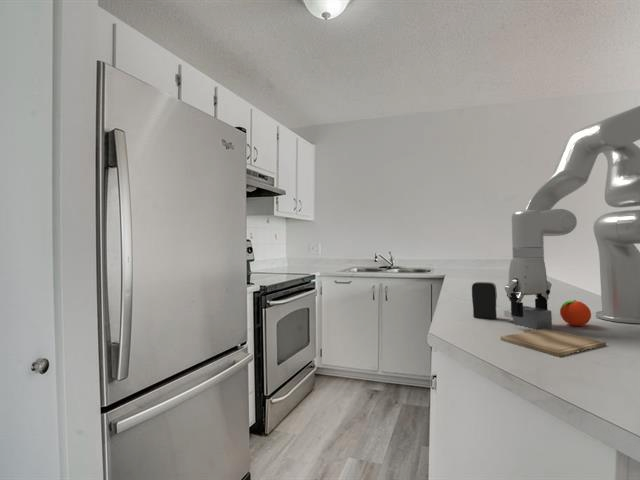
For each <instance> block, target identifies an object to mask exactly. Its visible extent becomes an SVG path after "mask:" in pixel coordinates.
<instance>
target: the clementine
mask: <svg viewBox="0 0 640 480" xmlns="http://www.w3.org/2000/svg"><path fill="white" fill-rule="evenodd" d="M559 309H560V310H559V315H560V317H561V319H562V320H563V321H564V323H566V324H568V325H571V326H573V327H580V326H581V327H582V326H585V325H586V324H588V323H589V322H590V320H591V318H592V311H591V309H590V307H588V305H587V304H585V303H584V302H581V301H577V300H576V299H574V300H569V301H568V300H567V301H565V302H564V303H562V305H561V306H560V308H559Z"/></svg>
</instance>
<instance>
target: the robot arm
mask: <svg viewBox="0 0 640 480" xmlns="http://www.w3.org/2000/svg"><path fill="white" fill-rule="evenodd" d="M638 141H640V105H639V106H635V107H632V108H629V109H628V110H625V111H622V112H620V113H617V114H614V115H611V116H609V117H606V118H604V119H602V120H600V121H597V122H594V123H592V124H589V125H587V126H583V127H581V128H579V129H577V130H575V131H574V132H572V133H571V134H570V135H569V136H568V138H567V140H566V142H565V144H564V146H563V149H562V151H561V154H560V156H559V159H558V162H557V163H556V166H555V168H554V171H553V173H552V175H551V176H550V177H549V178H548V179H547V180H546V181H545V182H544V183H543V184H542V186H540V187H539V189H538V190H537V191H535V193H534V194H533V195H532V196H531V198H530V200H529V202H528V203H527V205H526V208H525V210H524V209H523V210H517V211H514V212H513V213H512V215H511V238H512V239H511V241H512V242H511V243H512V244H511V245H512V259H511V260H510V263H509V267H508V268H509V271H508V284H506V285H505V286H504V291H505V293H506V296H507V298H508V300H509V301H508V302H510V309H511V315H512V316H516V317H523V306H524V303H523V302H522V301H523V299H524V297H525V296H531V295H534V296H535V297H536V298H535V299H534V302H535V303H534V306H535V307H534V308H540V309H546V310H549V309H548V300H549V299H550V298H549V295H550V293H551V288H552V287H553V286H552V285H553V284H552V283H551V282H550V281H548V277H547V268H546V261H545V251H544V250H545V248H544V246H545V245H544V243H545V242H544V241H545V240H544V237H559V236H565V235H568V234H571V232H573V231H574V230H575V229H576V227H577V224H578V220H577V217H576V215H575V213H573V212H572V211H570V210H568V209H565V208H554V207H555V206H556V204H558V202H559V201H561V200H562V199H564V198H565V197H567V196H569V195H570V194H572V193H573V192H576V191H577V190H579V189H580V188H582V187H583V186H584V185H585V184H587V182H588V180H589V178H590V175H591V174H592V170H593V168H594V165H595V163H596V160H597V159H598V156H599V155H600V154H604V157H605V158H606V160H607V162H606V163H607V169H606V170H607V172H606V179H605V186H604V201H605V203H606V204H607V205H608V206H609V207H612V208H619V209H621V208H631V207H640V147H639V146H638V145H637V144H635V143H634V142H638ZM553 208H554V209H553ZM593 233H594V237H595V241H596V244H597V245H596V246H597V249H598V256H599V257H598V258H599V278H600V296H601V310H600V311H599V310H598V311H596V312H595V317H597V318H598V319H601V320H605V321H610V322H617V323H625V324H626V323H627V324H640V250H639V249H638V248H637V246H636V245H639V244H640V209H631V210H629V209H628V210H620V211H612V212H611V211H610V212H608V213H607V212H606V213H604V214H602V215H600V216H599V217H597V218H596V220H595V221H594V222H593Z"/></svg>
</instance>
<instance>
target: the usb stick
mask: <svg viewBox="0 0 640 480" xmlns="http://www.w3.org/2000/svg"><path fill="white" fill-rule="evenodd" d="M503 313H504V314H503V315H504V317H506V318H511V319H512V324H513V325H514V324H515V326H518V325H519V327H522V326H524V327H523V328H527V327H528V328H527V329H531V328H532V330H535V329H536V330H538V329H544V328H545V329H550V330H553V316H552V310H550V309H548V310H546V309H540V308H535V307H533V306H532V307H531V306H527V305H523V317H516V316H512V315H511V308H510V309H505V310H503Z"/></svg>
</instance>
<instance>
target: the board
mask: <svg viewBox="0 0 640 480" xmlns="http://www.w3.org/2000/svg"><path fill="white" fill-rule="evenodd" d="M503 340H504V341H503ZM500 341H503V342H506V341H507V342H506V343H510V342H511V343H510V344H513V343H514V345H517V344H518V345H517V346H520V345H521V347H523V346H524V348H527V347H528V348H527V349H530V348H532V349H531V350H534V349H535V350H534V351H537V350H539V351H538V352H540V351H542V353H544V352H545V353H544V354H547V353H548V355H551V354H552V355H551V356H554V355H555V357H558V356H561V357H564V356H563V355H565V356H568V355H567V354H569V355H571V354H570V353H573V354H575V353H574V352H577V351H581V352H583V351H582V350H586V351H588V350H587V349H590V350H593V349H592V348H594V349H598V348H601V347H607V342H606V341H602V340H600V339H599V340H598V339H594V338H589V337H587V336H586V337H585V336H581V335H577V334H576V335H575V334H572V333H566V332H563V331H558V330H555V329H552V330H550V329H545V328H544V329H538V330H535V329H532V330H529V331H523V332H518V333H513V334H507V335H501V336H500ZM577 353H578V352H577Z"/></svg>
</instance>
